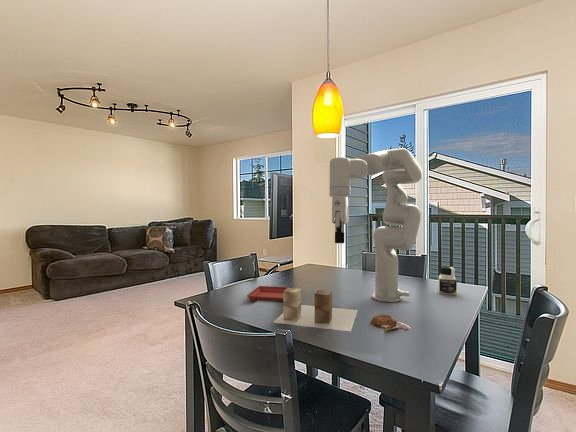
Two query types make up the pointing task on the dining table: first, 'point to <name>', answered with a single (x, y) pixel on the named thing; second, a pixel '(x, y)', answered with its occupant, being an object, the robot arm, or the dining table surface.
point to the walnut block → (323, 307)
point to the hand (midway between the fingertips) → (339, 243)
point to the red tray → (267, 293)
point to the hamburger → (386, 322)
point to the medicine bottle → (447, 281)
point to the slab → (340, 321)
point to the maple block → (292, 304)
